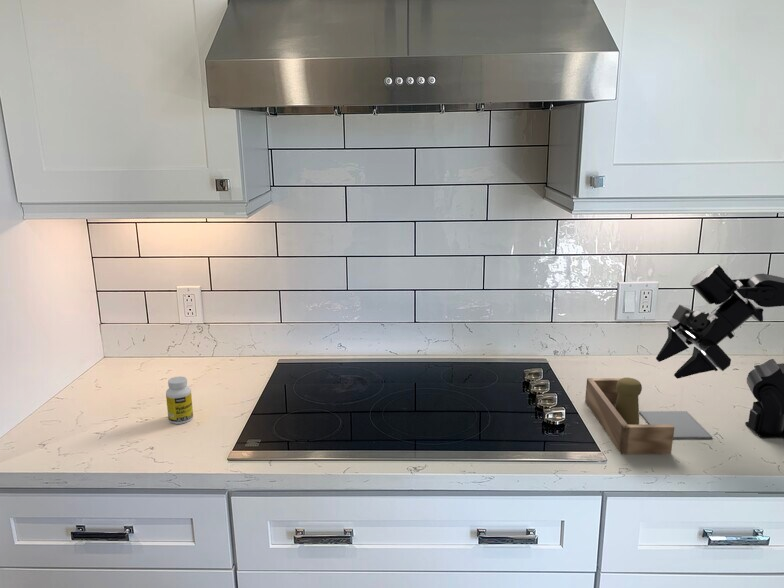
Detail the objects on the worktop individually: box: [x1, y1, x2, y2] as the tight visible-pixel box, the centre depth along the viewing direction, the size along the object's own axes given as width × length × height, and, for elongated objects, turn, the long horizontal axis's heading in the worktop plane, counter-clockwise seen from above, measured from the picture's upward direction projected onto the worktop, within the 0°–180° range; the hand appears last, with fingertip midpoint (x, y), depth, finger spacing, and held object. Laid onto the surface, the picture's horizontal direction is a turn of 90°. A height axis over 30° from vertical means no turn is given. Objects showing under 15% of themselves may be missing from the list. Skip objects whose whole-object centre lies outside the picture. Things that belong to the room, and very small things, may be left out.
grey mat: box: [639, 410, 713, 440], centre depth 139 cm, size 11×12×1 cm
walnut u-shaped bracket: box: [584, 377, 675, 455], centre depth 138 cm, size 10×24×6 cm, turn 0°
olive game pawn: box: [614, 377, 643, 425], centre depth 138 cm, size 6×6×11 cm
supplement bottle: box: [165, 375, 194, 425], centre depth 141 cm, size 5×5×10 cm
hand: (666, 368), depth 135 cm, fingers open, 9 cm apart
